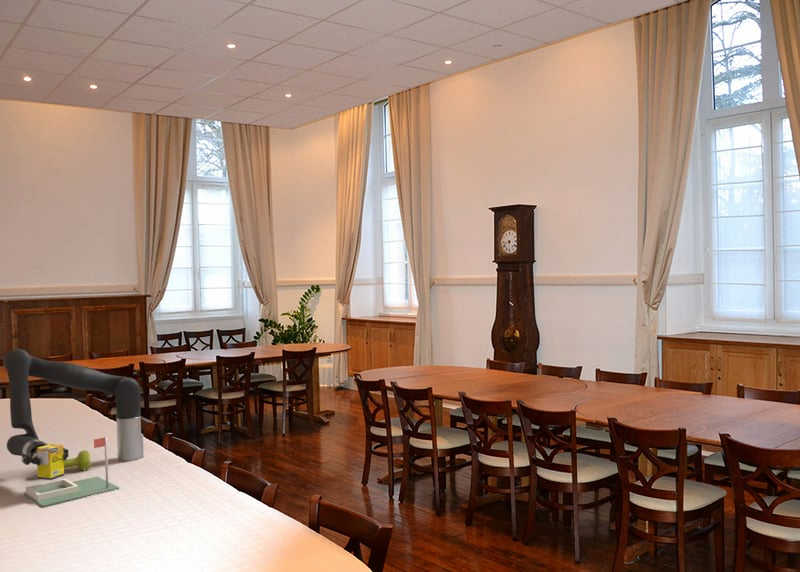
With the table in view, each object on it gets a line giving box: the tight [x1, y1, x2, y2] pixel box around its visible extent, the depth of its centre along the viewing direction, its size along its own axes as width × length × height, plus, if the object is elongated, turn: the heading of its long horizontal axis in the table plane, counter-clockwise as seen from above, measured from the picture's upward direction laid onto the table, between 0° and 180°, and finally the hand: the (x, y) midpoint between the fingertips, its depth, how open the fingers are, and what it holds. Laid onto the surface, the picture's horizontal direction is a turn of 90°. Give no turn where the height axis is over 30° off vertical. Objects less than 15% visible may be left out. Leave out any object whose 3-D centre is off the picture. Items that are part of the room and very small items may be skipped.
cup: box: [23, 436, 120, 508], centre depth 238 cm, size 25×20×19 cm
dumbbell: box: [63, 449, 91, 471], centre depth 262 cm, size 16×8×7 cm, turn 126°
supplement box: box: [36, 443, 65, 481], centre depth 236 cm, size 6×6×11 cm
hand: (52, 459), depth 234 cm, fingers closed on supplement box, 8 cm apart
